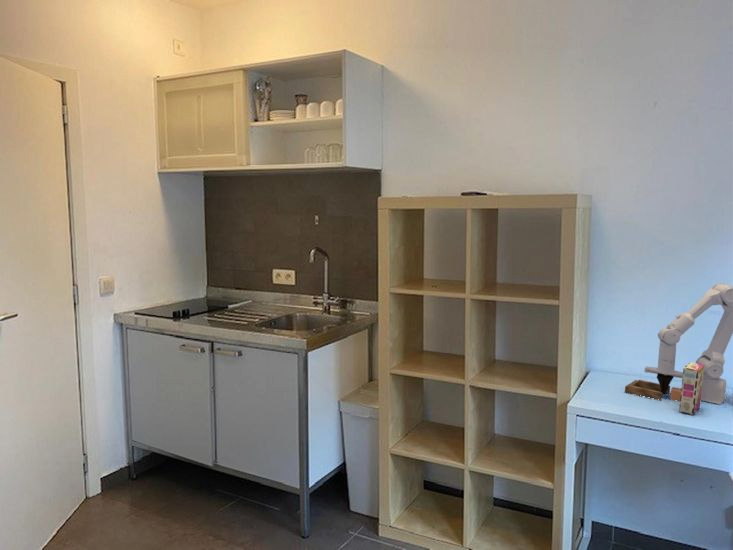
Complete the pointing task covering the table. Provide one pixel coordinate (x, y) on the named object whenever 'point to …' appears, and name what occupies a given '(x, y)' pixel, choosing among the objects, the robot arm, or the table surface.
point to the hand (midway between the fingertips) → (663, 393)
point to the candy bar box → (691, 388)
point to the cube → (675, 393)
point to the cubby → (645, 389)
